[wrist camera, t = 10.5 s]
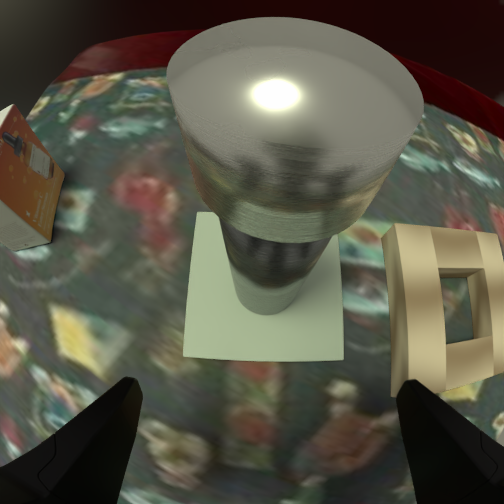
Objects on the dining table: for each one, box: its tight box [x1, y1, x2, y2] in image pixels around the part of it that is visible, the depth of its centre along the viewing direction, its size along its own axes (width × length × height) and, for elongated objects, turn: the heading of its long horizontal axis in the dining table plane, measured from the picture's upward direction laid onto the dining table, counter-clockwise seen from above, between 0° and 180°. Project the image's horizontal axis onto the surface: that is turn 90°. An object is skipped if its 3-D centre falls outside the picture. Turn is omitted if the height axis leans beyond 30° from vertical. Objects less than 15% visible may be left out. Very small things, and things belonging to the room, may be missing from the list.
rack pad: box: [183, 212, 344, 361], centre depth 19 cm, size 10×10×1 cm
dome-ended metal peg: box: [167, 17, 424, 315], centre depth 11 cm, size 5×5×15 cm
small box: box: [0, 104, 64, 251], centre depth 17 cm, size 8×6×10 cm
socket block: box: [381, 223, 504, 397], centre depth 17 cm, size 12×12×2 cm
